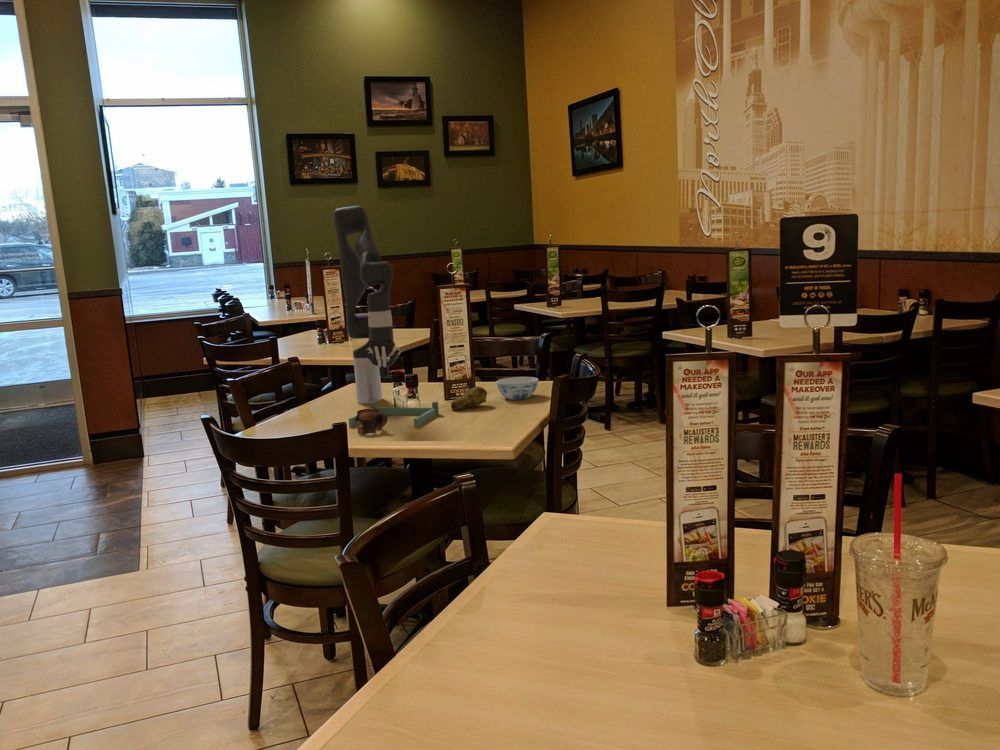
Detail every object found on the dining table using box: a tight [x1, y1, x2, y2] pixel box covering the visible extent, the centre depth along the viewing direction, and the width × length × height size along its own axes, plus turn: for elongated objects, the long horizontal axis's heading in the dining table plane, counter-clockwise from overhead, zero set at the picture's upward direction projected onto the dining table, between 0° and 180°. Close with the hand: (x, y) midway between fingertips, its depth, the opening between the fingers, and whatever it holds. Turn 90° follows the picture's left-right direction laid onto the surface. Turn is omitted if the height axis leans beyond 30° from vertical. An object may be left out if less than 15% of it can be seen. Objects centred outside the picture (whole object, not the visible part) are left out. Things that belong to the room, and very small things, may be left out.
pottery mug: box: [355, 408, 389, 435], centre depth 264 cm, size 12×9×8 cm
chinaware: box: [496, 376, 539, 401], centre depth 300 cm, size 15×15×8 cm
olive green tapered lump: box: [450, 386, 488, 412], centre depth 288 cm, size 8×13×8 cm, turn 98°
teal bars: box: [348, 401, 440, 428], centre depth 277 cm, size 18×25×5 cm
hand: (384, 378), depth 270 cm, fingers closed
